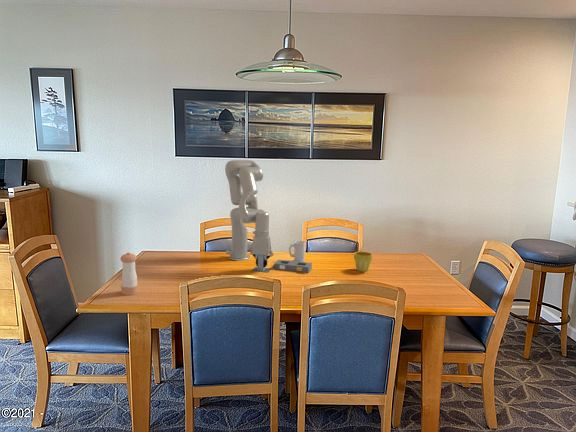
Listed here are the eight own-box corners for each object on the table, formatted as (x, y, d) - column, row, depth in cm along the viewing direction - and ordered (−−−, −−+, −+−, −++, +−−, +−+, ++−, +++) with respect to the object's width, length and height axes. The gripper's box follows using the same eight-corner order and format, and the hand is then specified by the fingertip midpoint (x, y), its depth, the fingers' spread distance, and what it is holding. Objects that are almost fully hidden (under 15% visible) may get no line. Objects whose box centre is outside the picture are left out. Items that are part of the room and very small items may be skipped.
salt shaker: (135, 295, 192) (134, 254, 188) (119, 295, 191) (117, 254, 188) (140, 289, 199) (138, 250, 196) (124, 289, 198) (122, 250, 195)
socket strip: (273, 269, 236) (273, 263, 235) (278, 265, 245) (278, 259, 244) (308, 273, 231) (308, 267, 230) (311, 268, 240) (311, 262, 239)
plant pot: (373, 269, 242) (374, 252, 240) (368, 273, 233) (369, 256, 231) (356, 266, 247) (357, 250, 245) (350, 270, 238) (351, 254, 236)
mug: (304, 260, 257) (305, 241, 255) (305, 263, 251) (305, 243, 249) (288, 259, 258) (289, 240, 256) (288, 262, 251) (288, 243, 249)
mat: (250, 271, 232) (250, 270, 231) (255, 267, 239) (255, 266, 239) (267, 273, 229) (267, 272, 229) (272, 269, 237) (272, 268, 236)
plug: (257, 270, 233) (258, 253, 231) (259, 268, 236) (259, 252, 234) (263, 270, 232) (263, 254, 230) (265, 269, 235) (265, 252, 233)
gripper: (245, 234, 229) (245, 266, 232) (274, 236, 225) (273, 269, 228) (250, 231, 236) (250, 262, 239) (278, 234, 232) (277, 265, 235)
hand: (261, 265), depth 234 cm, fingers open, 3 cm apart
